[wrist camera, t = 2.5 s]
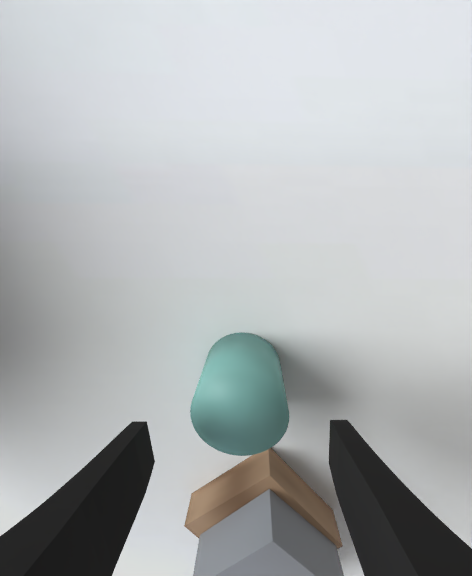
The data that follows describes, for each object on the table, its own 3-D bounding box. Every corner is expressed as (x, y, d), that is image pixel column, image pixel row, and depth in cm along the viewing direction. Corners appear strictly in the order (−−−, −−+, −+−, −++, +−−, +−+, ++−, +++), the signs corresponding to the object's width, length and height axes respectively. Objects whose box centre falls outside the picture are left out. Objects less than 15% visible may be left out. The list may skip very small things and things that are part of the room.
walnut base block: (255, 542, 20) (255, 587, 17) (193, 486, 19) (184, 526, 16) (330, 502, 18) (342, 546, 16) (267, 439, 17) (269, 475, 15)
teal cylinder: (239, 409, 16) (234, 470, 12) (191, 361, 15) (170, 409, 11) (295, 371, 15) (309, 423, 11) (246, 317, 14) (244, 353, 10)
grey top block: (264, 584, 17) (266, 644, 15) (200, 534, 16) (190, 590, 14) (336, 545, 16) (351, 604, 13) (269, 488, 15) (272, 541, 12)
